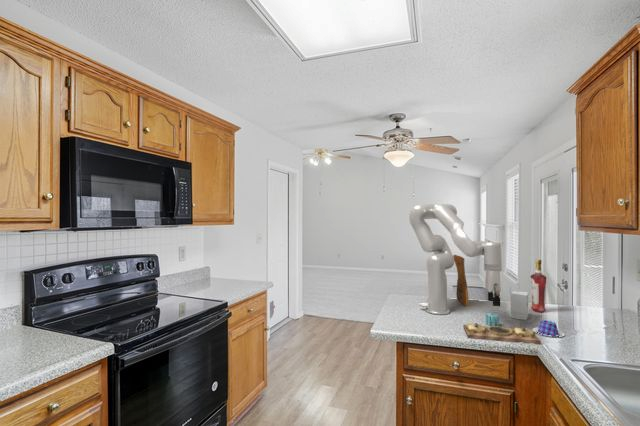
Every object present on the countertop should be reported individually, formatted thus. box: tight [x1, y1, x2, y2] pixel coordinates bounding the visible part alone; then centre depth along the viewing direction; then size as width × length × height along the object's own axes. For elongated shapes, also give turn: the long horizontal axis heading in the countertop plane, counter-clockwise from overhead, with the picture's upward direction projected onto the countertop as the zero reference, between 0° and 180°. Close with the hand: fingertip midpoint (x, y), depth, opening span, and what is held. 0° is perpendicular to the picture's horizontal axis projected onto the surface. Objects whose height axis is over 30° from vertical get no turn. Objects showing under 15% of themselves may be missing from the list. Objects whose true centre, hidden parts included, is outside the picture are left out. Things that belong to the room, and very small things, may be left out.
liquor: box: [530, 259, 547, 313], centre depth 186 cm, size 7×7×28 cm
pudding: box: [532, 319, 565, 338], centre depth 154 cm, size 12×12×5 cm
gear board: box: [462, 322, 542, 345], centre depth 151 cm, size 28×13×4 cm, turn 75°
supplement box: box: [510, 290, 529, 321], centre depth 176 cm, size 7×7×13 cm
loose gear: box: [485, 312, 500, 327], centre depth 165 cm, size 6×6×5 cm
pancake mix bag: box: [453, 254, 470, 307], centre depth 203 cm, size 7×19×28 cm, turn 168°
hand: (494, 303), depth 164 cm, fingers open, 9 cm apart
